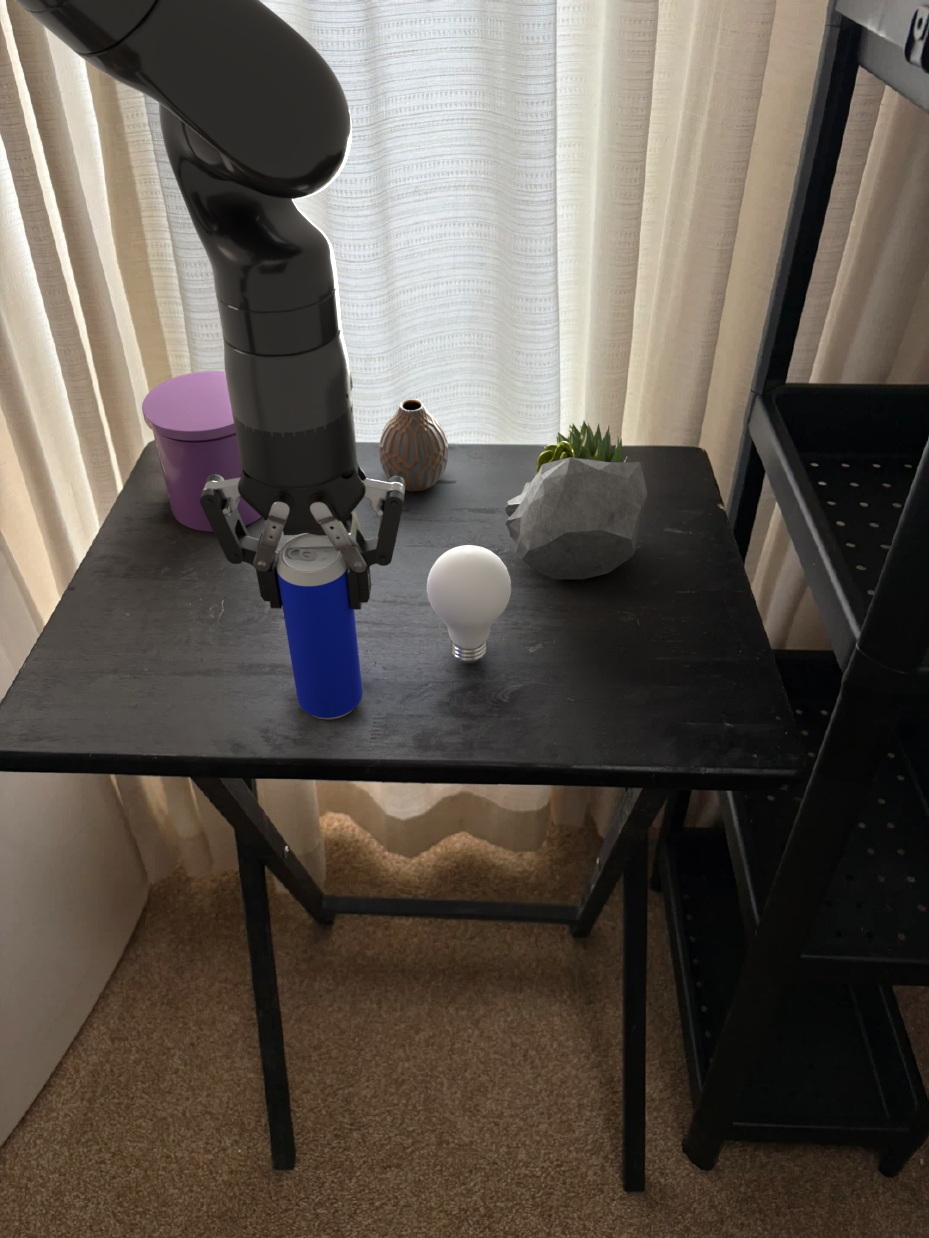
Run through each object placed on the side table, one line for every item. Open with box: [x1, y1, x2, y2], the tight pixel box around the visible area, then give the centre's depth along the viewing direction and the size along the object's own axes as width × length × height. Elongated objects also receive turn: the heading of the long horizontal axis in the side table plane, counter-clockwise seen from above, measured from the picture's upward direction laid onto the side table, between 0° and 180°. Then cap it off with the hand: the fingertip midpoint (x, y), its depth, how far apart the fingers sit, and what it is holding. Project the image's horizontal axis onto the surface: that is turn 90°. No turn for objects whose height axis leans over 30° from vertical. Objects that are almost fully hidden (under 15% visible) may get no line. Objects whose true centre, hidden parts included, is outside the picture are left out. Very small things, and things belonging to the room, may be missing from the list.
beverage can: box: [276, 533, 363, 720], centre depth 78 cm, size 5×5×15 cm
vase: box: [378, 398, 449, 492], centre depth 103 cm, size 7×7×9 cm
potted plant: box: [504, 419, 649, 580], centre depth 94 cm, size 12×13×15 cm
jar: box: [141, 370, 263, 533], centre depth 99 cm, size 11×11×12 cm
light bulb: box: [426, 544, 512, 664], centre depth 82 cm, size 7×7×11 cm
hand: (318, 601), depth 76 cm, fingers closed on beverage can, 5 cm apart
